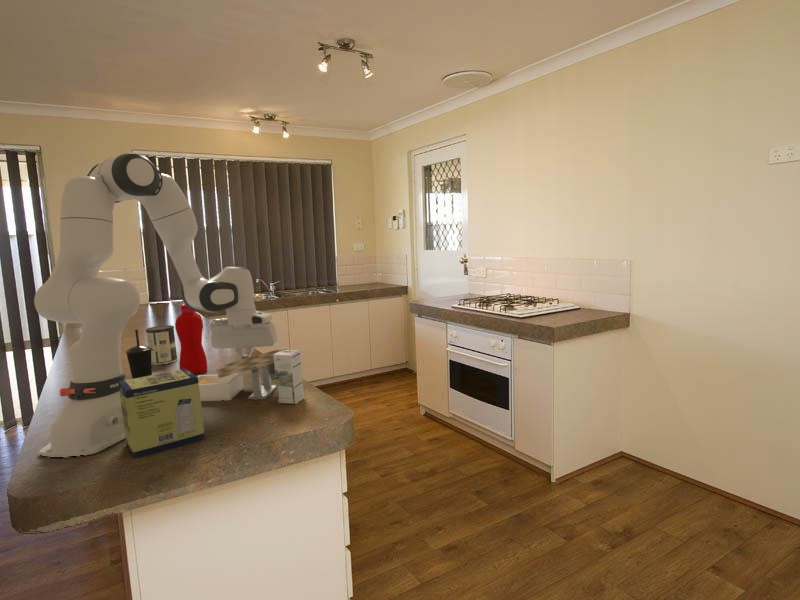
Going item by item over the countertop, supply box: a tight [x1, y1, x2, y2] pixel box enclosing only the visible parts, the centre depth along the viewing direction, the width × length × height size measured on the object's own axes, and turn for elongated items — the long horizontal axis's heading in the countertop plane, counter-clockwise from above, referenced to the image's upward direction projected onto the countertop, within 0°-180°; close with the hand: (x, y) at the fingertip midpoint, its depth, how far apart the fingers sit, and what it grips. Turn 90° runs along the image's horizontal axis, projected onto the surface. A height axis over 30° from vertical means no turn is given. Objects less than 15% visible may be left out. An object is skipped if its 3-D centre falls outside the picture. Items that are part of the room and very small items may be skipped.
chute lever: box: [215, 346, 288, 382], centre depth 154 cm, size 20×14×8 cm
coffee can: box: [145, 324, 179, 366], centre depth 200 cm, size 10×10×14 cm
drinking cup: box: [125, 329, 153, 379], centre depth 160 cm, size 8×8×20 cm
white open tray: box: [196, 372, 245, 402], centre depth 152 cm, size 11×14×5 cm
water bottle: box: [174, 304, 210, 375], centre depth 180 cm, size 9×11×25 cm
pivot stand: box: [248, 365, 277, 400], centre depth 151 cm, size 12×5×10 cm, turn 177°
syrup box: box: [274, 349, 305, 405], centre depth 141 cm, size 6×6×14 cm
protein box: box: [118, 369, 206, 459], centre depth 116 cm, size 10×16×16 cm
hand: (246, 360), depth 158 cm, fingers closed
